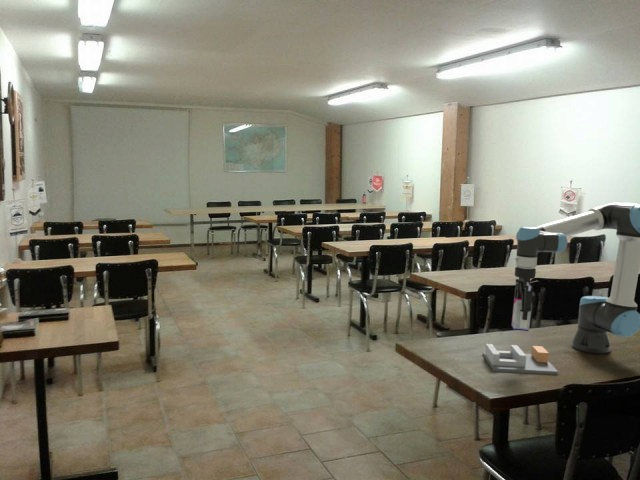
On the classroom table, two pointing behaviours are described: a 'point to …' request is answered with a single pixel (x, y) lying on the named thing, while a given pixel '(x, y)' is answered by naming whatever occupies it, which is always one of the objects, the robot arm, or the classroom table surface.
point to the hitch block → (515, 361)
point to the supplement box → (516, 315)
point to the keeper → (540, 354)
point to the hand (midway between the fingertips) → (520, 324)
